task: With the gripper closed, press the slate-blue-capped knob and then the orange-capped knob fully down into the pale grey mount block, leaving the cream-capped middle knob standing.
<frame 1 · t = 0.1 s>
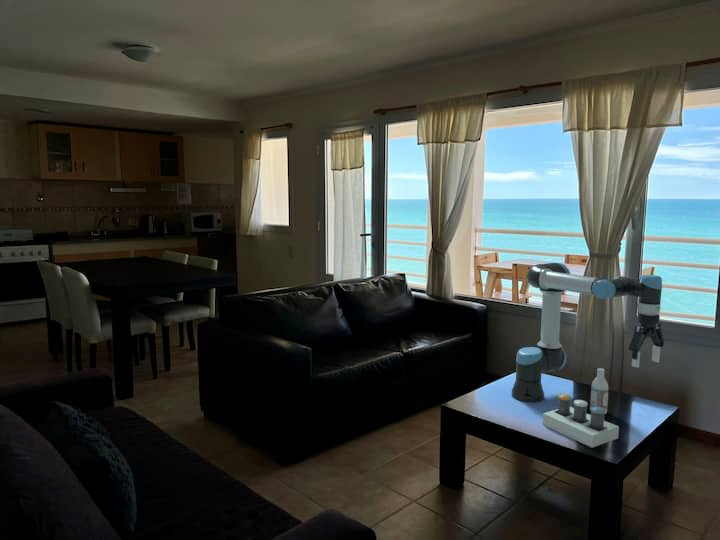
hand: (645, 364, 210), 28 cm above the table, fingers open, 13 cm apart
knob b: (580, 411, 211), point 8 cm above the table, slide at 0.0 cm
mount: (579, 431, 212), on the table
knob a: (564, 404, 218), point 8 cm above the table, slide at 0.0 cm
bath foam: (598, 412, 231), on the table
knob c: (597, 418, 204), point 8 cm above the table, slide at 0.0 cm
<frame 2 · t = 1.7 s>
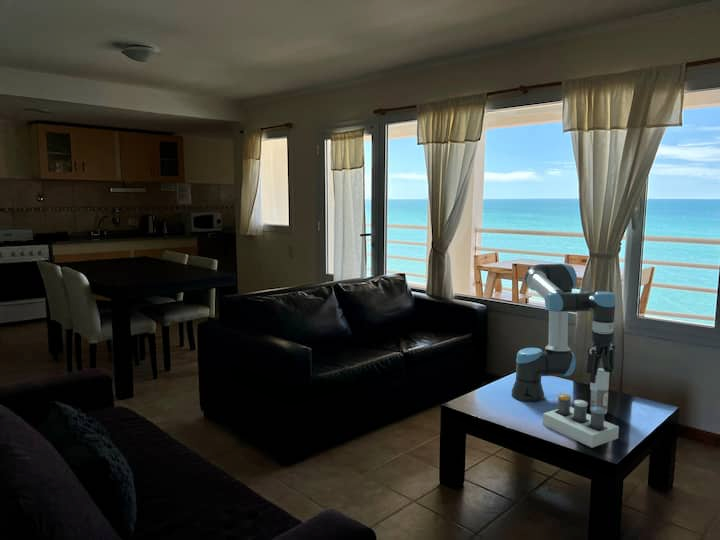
hand: (599, 388, 202), 21 cm above the table, fingers open, 6 cm apart
nothing on the table moved.
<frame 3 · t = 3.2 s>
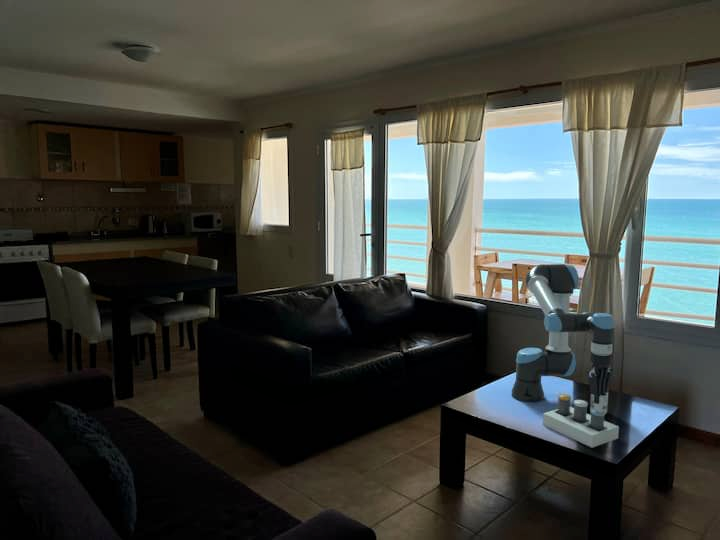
hand: (598, 410, 203), 12 cm above the table, fingers closed
knob c: (597, 420, 204), point 8 cm above the table, slide at 0.9 cm, touching gripper
everything else where it was.
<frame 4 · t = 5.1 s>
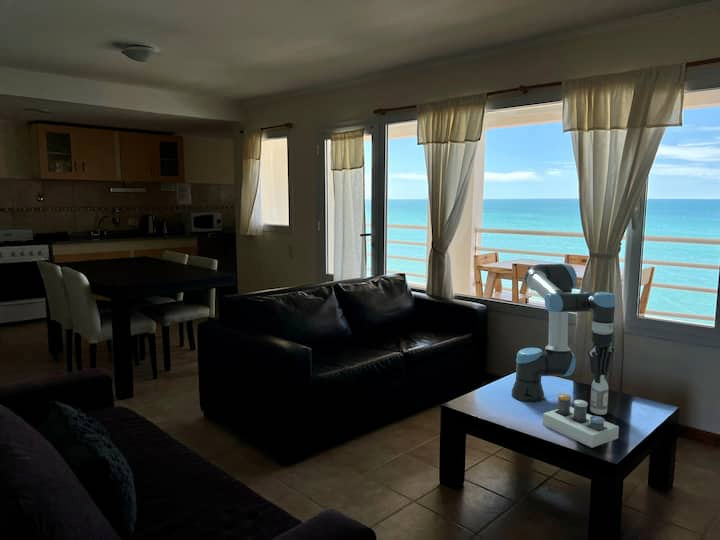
hand: (598, 390, 202), 20 cm above the table, fingers closed
knob c: (596, 428, 204), point 5 cm above the table, slide at 4.0 cm
everything else where it was.
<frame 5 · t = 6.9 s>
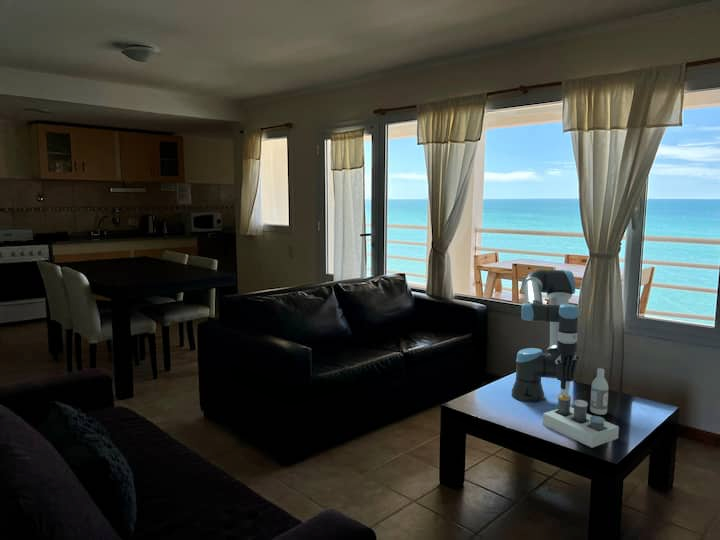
hand: (564, 395, 217), 13 cm above the table, fingers closed
knob a: (564, 405, 218), point 8 cm above the table, slide at 0.1 cm, touching gripper
everything else where it was.
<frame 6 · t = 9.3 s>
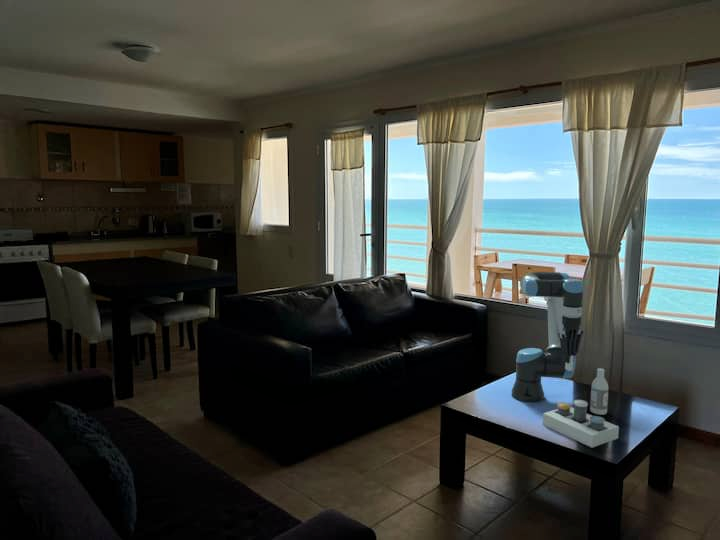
hand: (568, 369, 219), 23 cm above the table, fingers closed
knob a: (563, 413, 218), point 5 cm above the table, slide at 4.0 cm
everything else where it was.
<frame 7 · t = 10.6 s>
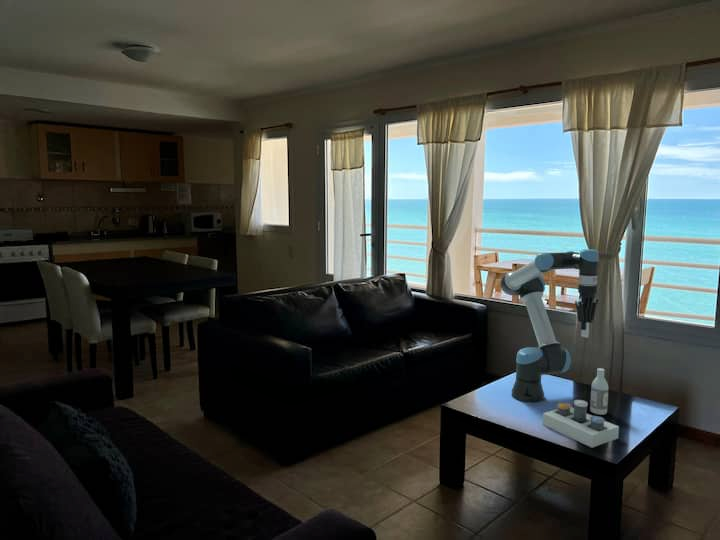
hand: (584, 336, 229), 34 cm above the table, fingers closed
nothing on the table moved.
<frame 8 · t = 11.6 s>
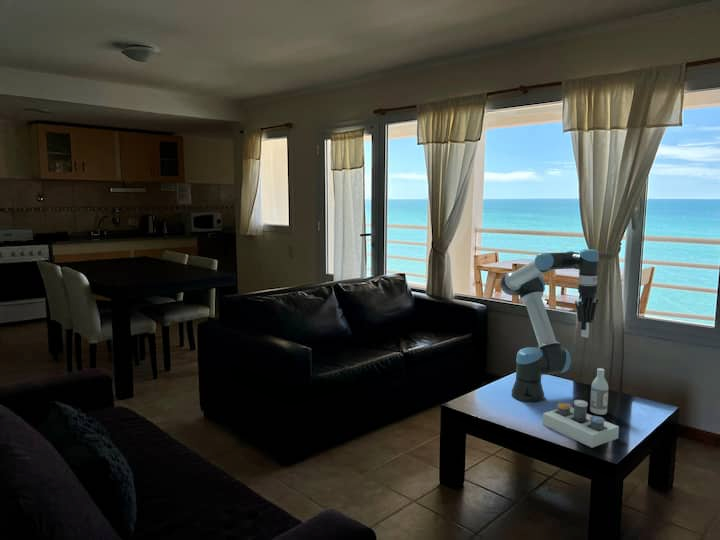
hand: (584, 336, 229), 34 cm above the table, fingers closed
nothing on the table moved.
at the end: knob c slide at 4.0 cm; knob a slide at 4.0 cm; knob b slide at 0.0 cm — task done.
